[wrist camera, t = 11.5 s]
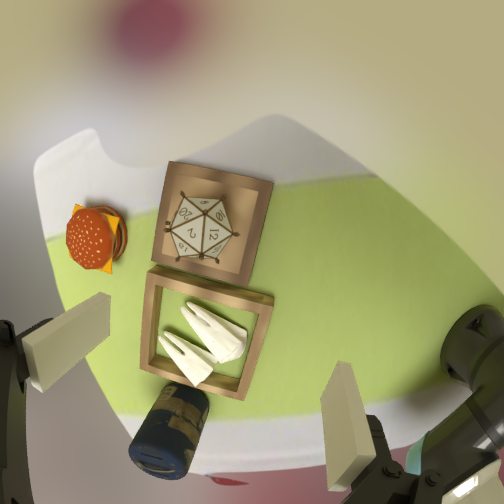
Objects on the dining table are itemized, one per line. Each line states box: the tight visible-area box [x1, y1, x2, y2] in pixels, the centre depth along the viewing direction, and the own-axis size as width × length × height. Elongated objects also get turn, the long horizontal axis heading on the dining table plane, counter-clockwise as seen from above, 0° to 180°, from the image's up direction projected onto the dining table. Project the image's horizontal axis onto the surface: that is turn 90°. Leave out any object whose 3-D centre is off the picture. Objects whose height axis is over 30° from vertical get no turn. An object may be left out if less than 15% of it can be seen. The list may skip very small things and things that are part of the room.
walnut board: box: [151, 161, 274, 287], centre depth 38 cm, size 14×14×3 cm
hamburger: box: [66, 204, 127, 274], centre depth 39 cm, size 9×10×7 cm
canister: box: [129, 384, 209, 480], centre depth 39 cm, size 10×10×18 cm
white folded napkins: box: [158, 302, 247, 387], centre depth 41 cm, size 12×4×11 cm
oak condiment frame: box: [140, 265, 274, 401], centre depth 42 cm, size 18×18×4 cm
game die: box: [163, 190, 240, 264], centre depth 33 cm, size 9×8×10 cm
